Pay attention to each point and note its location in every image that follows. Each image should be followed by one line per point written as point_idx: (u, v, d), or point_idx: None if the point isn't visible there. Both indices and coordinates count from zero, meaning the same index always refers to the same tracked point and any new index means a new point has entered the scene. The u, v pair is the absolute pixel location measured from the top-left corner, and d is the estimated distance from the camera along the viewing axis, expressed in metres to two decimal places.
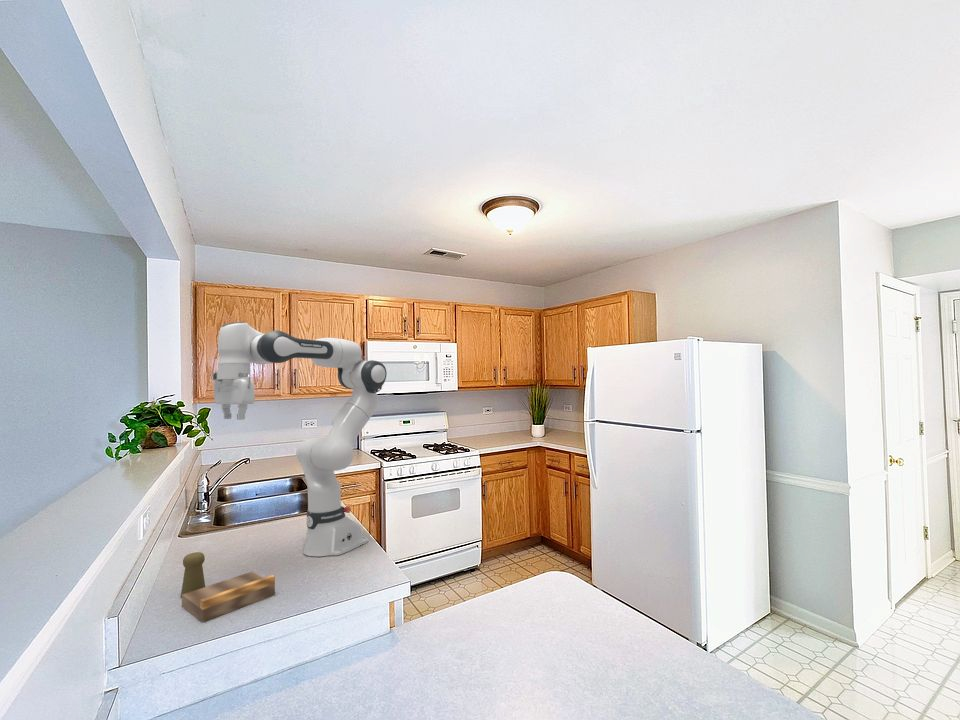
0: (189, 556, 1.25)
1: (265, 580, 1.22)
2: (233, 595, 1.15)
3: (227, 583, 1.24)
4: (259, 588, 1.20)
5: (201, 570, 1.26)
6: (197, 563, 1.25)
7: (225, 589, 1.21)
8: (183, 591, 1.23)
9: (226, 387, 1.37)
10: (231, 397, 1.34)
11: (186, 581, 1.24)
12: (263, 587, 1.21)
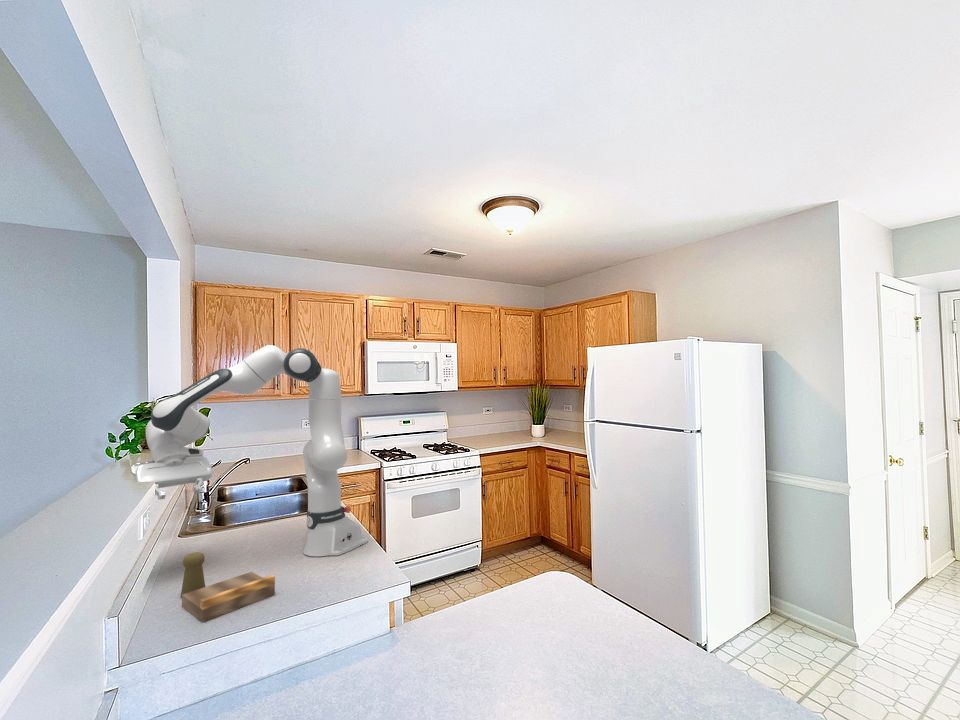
0: (189, 556, 1.25)
1: (265, 580, 1.22)
2: (233, 595, 1.15)
3: (227, 583, 1.24)
4: (259, 588, 1.20)
5: (201, 570, 1.26)
6: (197, 563, 1.25)
7: (225, 589, 1.21)
8: (183, 591, 1.23)
9: None
10: None
11: (186, 581, 1.24)
12: (263, 587, 1.21)
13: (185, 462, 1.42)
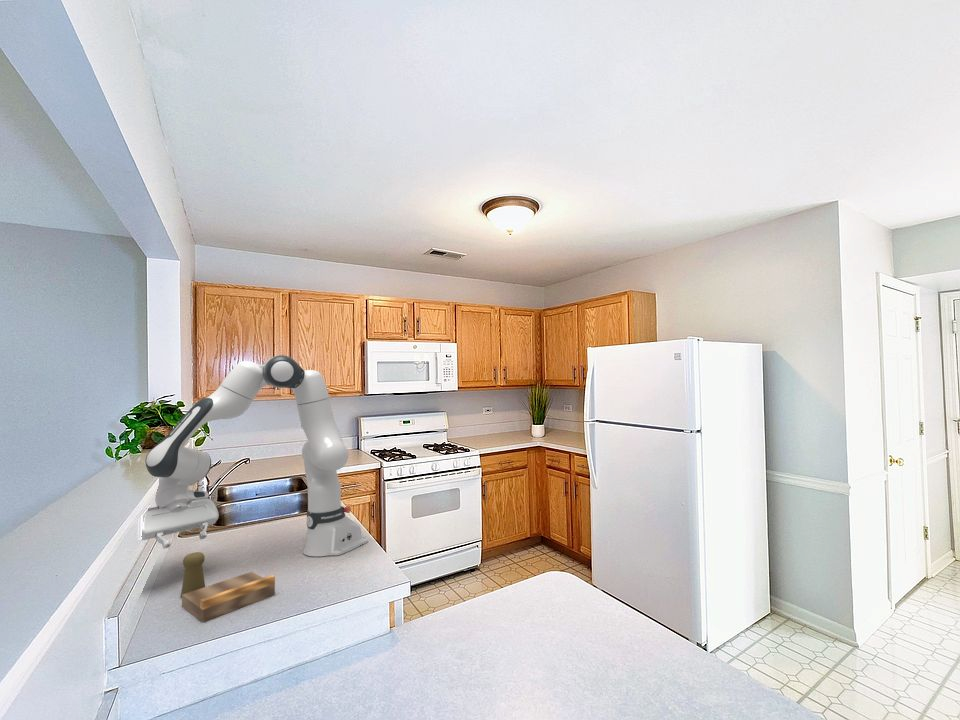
0: (189, 556, 1.25)
1: (265, 580, 1.22)
2: (233, 595, 1.15)
3: (227, 583, 1.24)
4: (259, 588, 1.20)
5: (201, 570, 1.26)
6: (197, 563, 1.25)
7: (225, 589, 1.21)
8: (183, 591, 1.23)
9: None
10: None
11: (186, 581, 1.23)
12: (263, 587, 1.21)
13: (190, 506, 1.38)
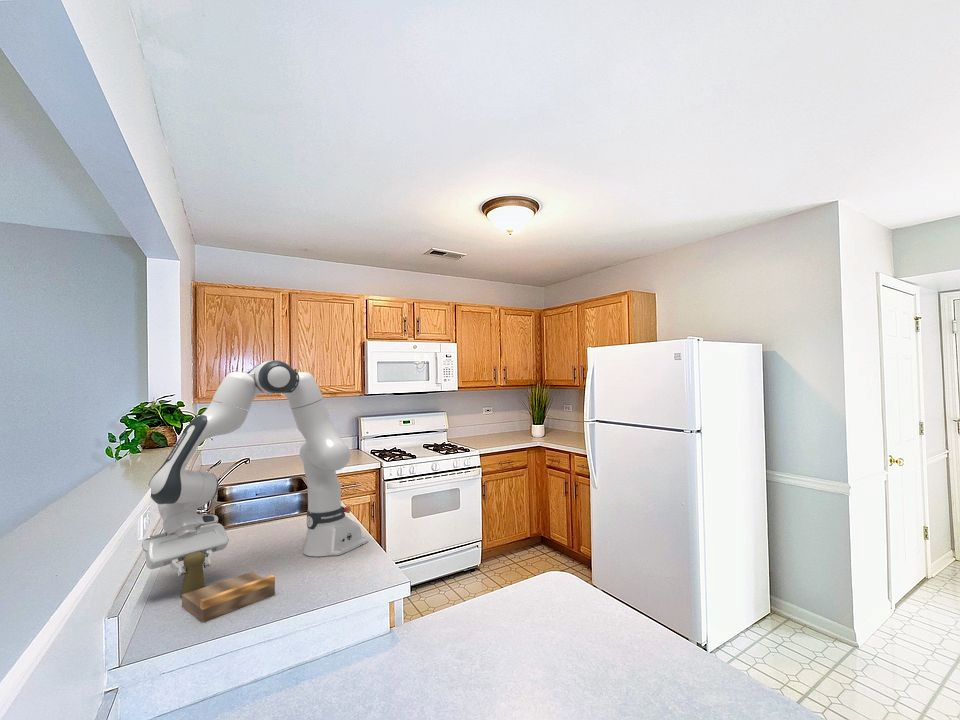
0: (190, 556, 1.25)
1: (265, 580, 1.22)
2: (233, 595, 1.15)
3: (227, 583, 1.24)
4: (259, 588, 1.20)
5: (201, 570, 1.26)
6: (198, 563, 1.25)
7: (225, 589, 1.21)
8: (183, 591, 1.23)
9: None
10: None
11: (186, 580, 1.24)
12: (263, 587, 1.21)
13: (199, 531, 1.33)
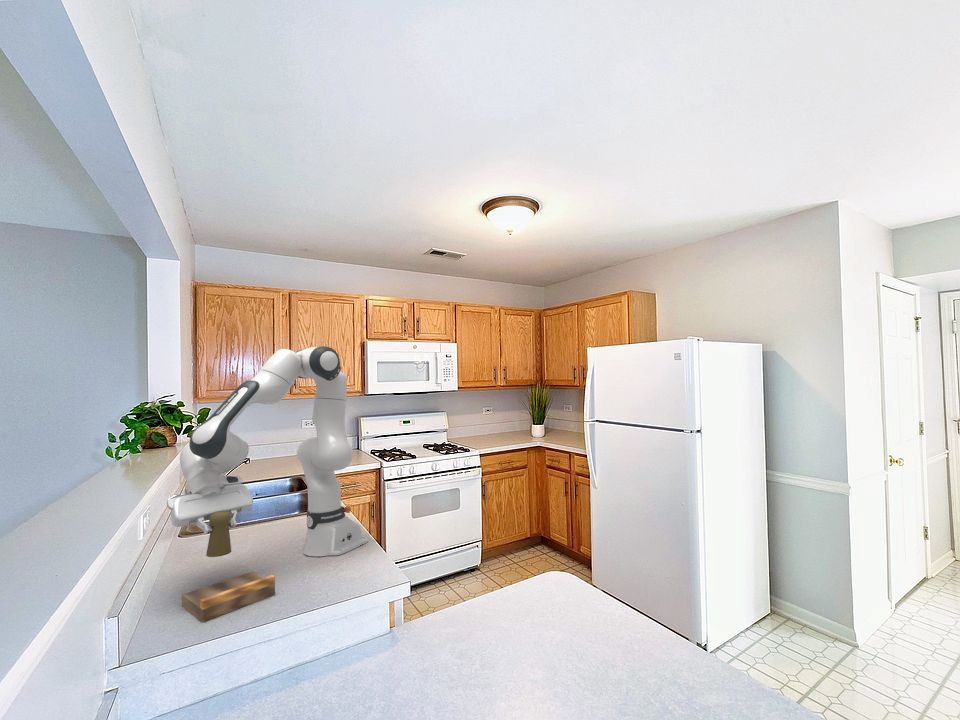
0: (216, 514, 1.22)
1: (265, 580, 1.22)
2: (233, 595, 1.15)
3: (227, 583, 1.24)
4: (259, 588, 1.20)
5: (227, 529, 1.24)
6: (224, 522, 1.22)
7: (225, 589, 1.21)
8: (209, 549, 1.21)
9: None
10: None
11: (212, 539, 1.21)
12: (263, 587, 1.21)
13: (224, 492, 1.30)
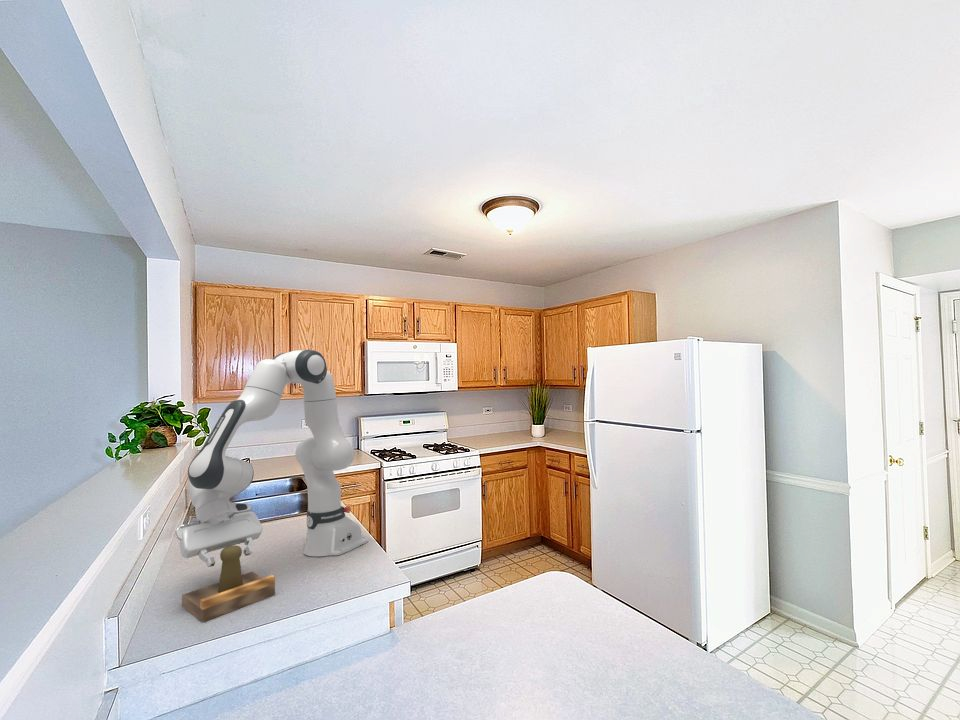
0: (227, 549, 1.20)
1: (265, 580, 1.22)
2: (233, 595, 1.15)
3: None
4: (259, 588, 1.20)
5: (239, 564, 1.22)
6: (235, 557, 1.20)
7: None
8: (221, 586, 1.19)
9: None
10: None
11: (224, 575, 1.19)
12: (263, 587, 1.21)
13: (233, 520, 1.28)
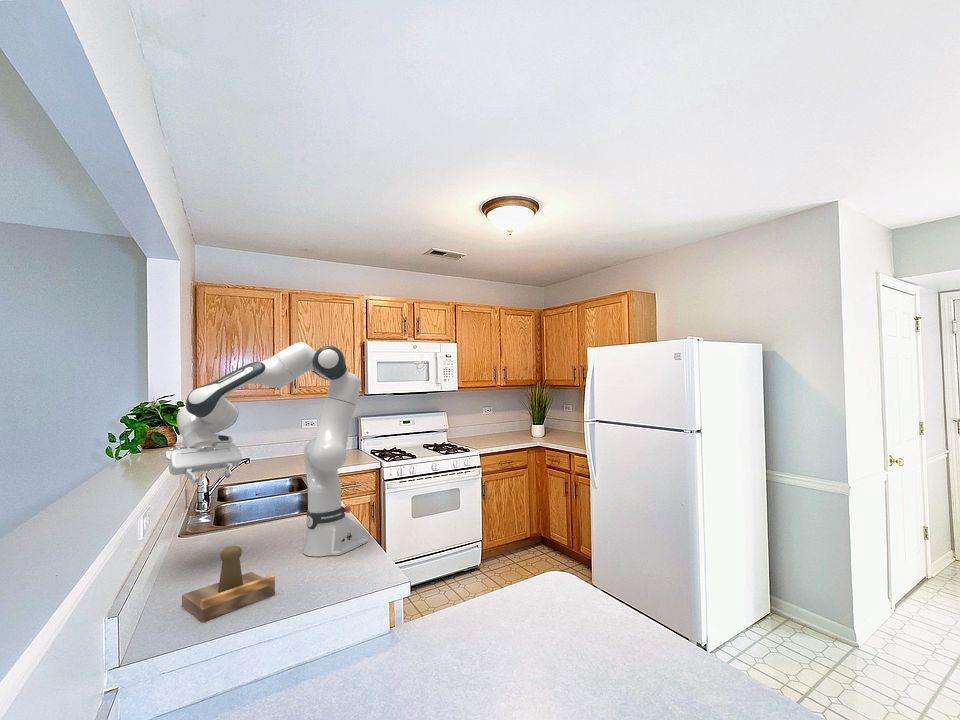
0: (227, 549, 1.20)
1: (265, 580, 1.22)
2: (233, 595, 1.15)
3: None
4: (259, 588, 1.20)
5: (239, 564, 1.22)
6: (235, 557, 1.20)
7: None
8: (221, 586, 1.19)
9: None
10: None
11: (224, 575, 1.19)
12: (263, 587, 1.21)
13: (216, 448, 1.47)
